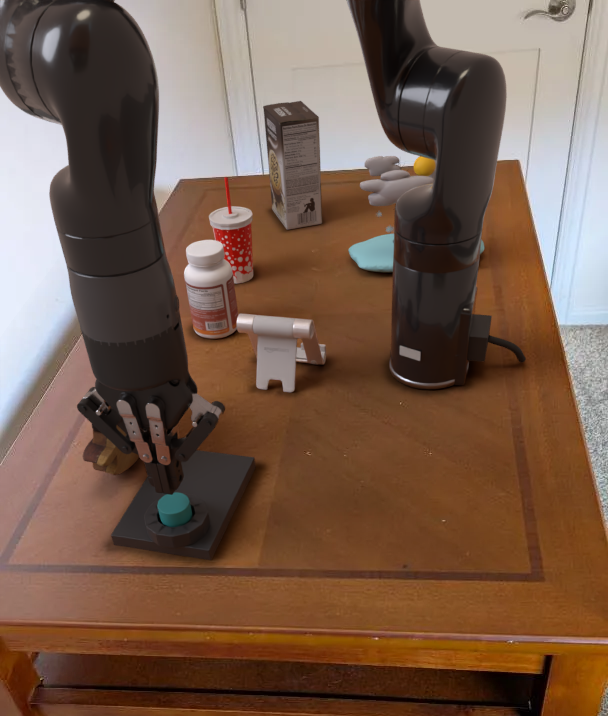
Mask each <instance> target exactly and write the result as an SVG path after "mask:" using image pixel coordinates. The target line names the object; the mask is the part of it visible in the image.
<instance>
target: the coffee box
mask: <svg viewBox="0 0 608 716" xmlns="http://www.w3.org/2000/svg"><path fill="white" fill-rule="evenodd" d="M262 108H263V118H264V130H265V131H264V132H265V140H266V151H267V163H268V175H269V176H268V177H269V186H270V199H271V210H272V212H273V213H274V214H275V215H276V217H277V218H278V220H279V221H280V222H281V224H282V225H283V227H284V228H285V229H286V230H295V229H299V228H305V227H310V226H311V227H312V226H317V225H321V224H323V210H322V209H323V207H322V175H321V173H322V171H321V141H320V139H321V138H320V117H319V116H318V114H316V113H315V112H314V111H313V110H312V109H311V108H309V107H308V106H307V105H306V104H305V103H304V102H303V101H302V100H297V101H291V102H278V103H277V102H276V103H271V104H266V105H263V107H262Z"/></svg>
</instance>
